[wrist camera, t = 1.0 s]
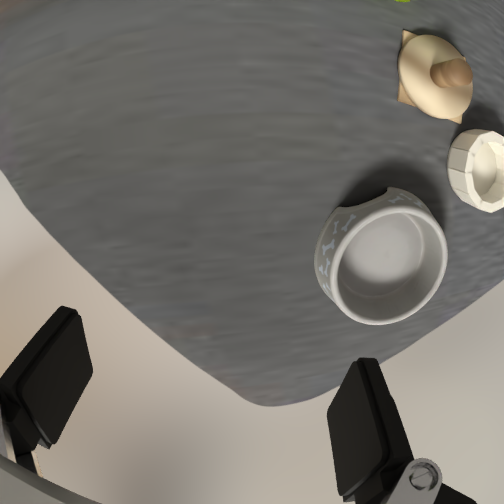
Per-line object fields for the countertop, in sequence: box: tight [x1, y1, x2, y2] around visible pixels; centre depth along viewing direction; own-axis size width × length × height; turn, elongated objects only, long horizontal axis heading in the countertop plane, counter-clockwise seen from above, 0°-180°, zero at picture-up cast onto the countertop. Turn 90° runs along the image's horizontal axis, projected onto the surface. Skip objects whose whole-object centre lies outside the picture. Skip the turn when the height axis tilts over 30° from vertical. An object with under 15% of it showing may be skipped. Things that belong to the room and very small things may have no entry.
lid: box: [398, 35, 473, 119], centre depth 24 cm, size 11×11×6 cm
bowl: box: [447, 129, 504, 213], centre depth 30 cm, size 10×10×4 cm
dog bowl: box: [314, 187, 448, 325], centre depth 35 cm, size 17×18×5 cm
